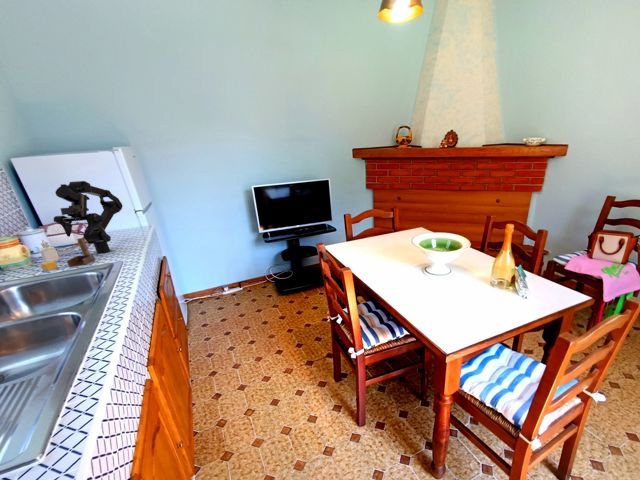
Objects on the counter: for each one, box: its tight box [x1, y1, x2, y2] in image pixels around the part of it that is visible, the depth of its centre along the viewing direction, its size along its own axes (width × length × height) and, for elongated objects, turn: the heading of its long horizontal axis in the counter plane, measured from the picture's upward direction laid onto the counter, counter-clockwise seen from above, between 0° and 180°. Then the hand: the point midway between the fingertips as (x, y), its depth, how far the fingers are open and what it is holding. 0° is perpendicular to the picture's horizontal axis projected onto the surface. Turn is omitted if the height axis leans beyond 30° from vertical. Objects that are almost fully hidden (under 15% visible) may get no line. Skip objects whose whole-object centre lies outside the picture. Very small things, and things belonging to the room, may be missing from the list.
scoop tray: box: [66, 237, 96, 268], centre depth 146 cm, size 10×7×12 cm
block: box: [40, 261, 59, 272], centre depth 141 cm, size 4×4×4 cm
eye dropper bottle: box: [38, 239, 61, 263], centre depth 150 cm, size 4×6×12 cm
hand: (79, 235), depth 146 cm, fingers open, 9 cm apart
